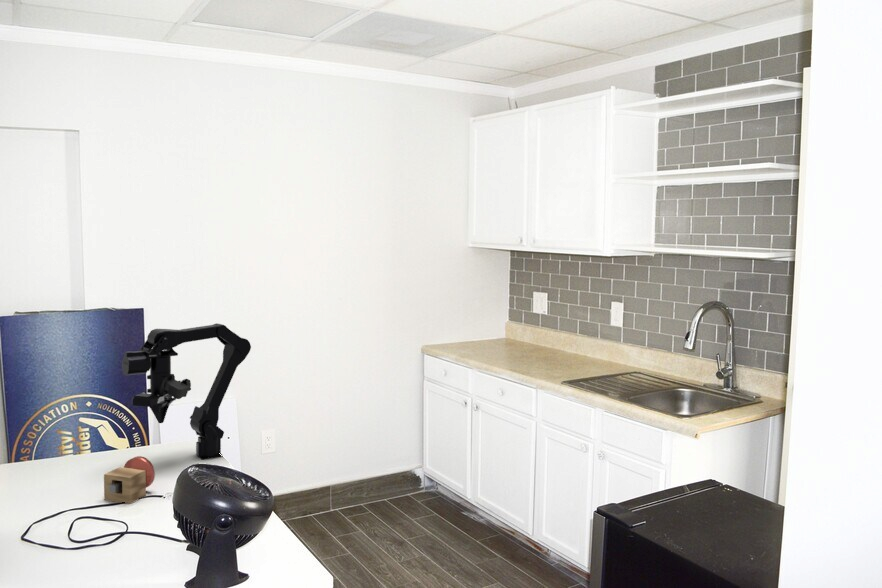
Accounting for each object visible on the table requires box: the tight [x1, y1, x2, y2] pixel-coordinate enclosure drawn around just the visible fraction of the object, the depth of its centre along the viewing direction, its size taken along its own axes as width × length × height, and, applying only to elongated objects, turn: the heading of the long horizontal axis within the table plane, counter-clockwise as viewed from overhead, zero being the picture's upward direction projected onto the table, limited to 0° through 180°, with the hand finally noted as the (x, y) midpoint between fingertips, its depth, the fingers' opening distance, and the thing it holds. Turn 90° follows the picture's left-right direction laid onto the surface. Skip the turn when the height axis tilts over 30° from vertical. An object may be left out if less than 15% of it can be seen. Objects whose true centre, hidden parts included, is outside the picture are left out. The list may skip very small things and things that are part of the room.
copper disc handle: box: [110, 455, 156, 493], centre depth 185 cm, size 11×9×9 cm
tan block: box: [103, 466, 147, 505], centre depth 184 cm, size 6×8×7 cm
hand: (160, 422), depth 209 cm, fingers closed
